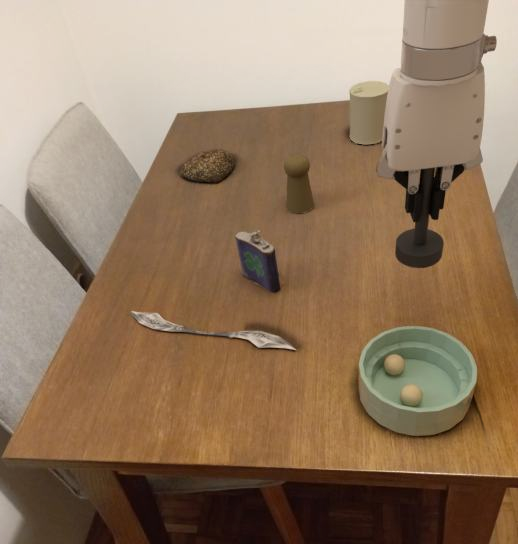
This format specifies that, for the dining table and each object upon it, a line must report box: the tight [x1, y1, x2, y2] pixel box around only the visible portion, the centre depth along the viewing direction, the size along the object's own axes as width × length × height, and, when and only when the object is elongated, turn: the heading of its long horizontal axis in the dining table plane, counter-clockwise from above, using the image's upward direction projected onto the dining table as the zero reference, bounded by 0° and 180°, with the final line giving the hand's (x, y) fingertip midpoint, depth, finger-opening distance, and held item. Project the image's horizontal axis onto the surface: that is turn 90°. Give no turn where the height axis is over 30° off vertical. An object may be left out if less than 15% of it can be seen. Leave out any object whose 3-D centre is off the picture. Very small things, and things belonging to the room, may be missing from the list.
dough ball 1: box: [384, 354, 405, 375], centre depth 76 cm, size 3×3×3 cm
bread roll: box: [180, 148, 236, 183], centre depth 126 cm, size 13×12×5 cm
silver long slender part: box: [130, 310, 297, 351], centre depth 89 cm, size 32×1×5 cm
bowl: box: [357, 325, 478, 437], centre depth 73 cm, size 15×15×6 cm
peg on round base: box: [394, 167, 445, 269], centre depth 66 cm, size 6×6×13 cm
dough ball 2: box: [400, 384, 423, 406], centre depth 72 cm, size 3×3×3 cm
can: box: [348, 80, 390, 144], centre depth 125 cm, size 9×9×12 cm
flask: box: [235, 229, 282, 294], centre depth 93 cm, size 9×3×11 cm, turn 43°
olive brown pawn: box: [283, 153, 315, 214], centre depth 108 cm, size 6×6×11 cm
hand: (423, 214), depth 66 cm, fingers closed on peg on round base
